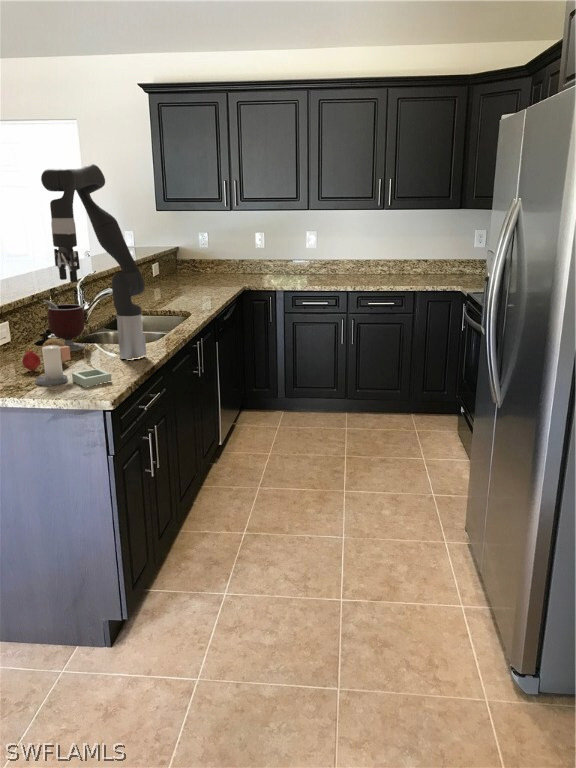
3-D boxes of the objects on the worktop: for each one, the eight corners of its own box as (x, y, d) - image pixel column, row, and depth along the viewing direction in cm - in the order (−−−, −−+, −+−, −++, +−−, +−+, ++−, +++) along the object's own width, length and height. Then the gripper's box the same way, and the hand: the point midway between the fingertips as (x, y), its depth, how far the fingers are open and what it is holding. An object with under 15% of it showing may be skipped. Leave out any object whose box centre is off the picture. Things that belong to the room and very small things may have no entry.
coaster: (60, 375, 207) (60, 372, 206) (72, 382, 200) (72, 378, 199) (31, 381, 200) (30, 377, 200) (42, 387, 193) (42, 384, 193)
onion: (23, 374, 208) (21, 351, 206) (23, 369, 213) (21, 348, 211) (41, 372, 210) (39, 350, 208) (41, 368, 215) (38, 346, 213)
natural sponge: (42, 362, 223) (39, 336, 220) (67, 360, 227) (64, 334, 224) (43, 368, 215) (40, 341, 212) (69, 366, 219) (66, 339, 216)
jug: (49, 381, 196) (46, 350, 193) (42, 377, 200) (39, 347, 197) (74, 376, 202) (71, 346, 199) (67, 372, 206) (64, 343, 203)
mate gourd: (91, 344, 252) (87, 297, 247) (80, 352, 239) (76, 302, 233) (54, 343, 252) (49, 296, 246) (42, 351, 239) (36, 302, 233)
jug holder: (98, 376, 207) (98, 368, 206) (111, 382, 200) (110, 373, 199) (72, 381, 200) (71, 372, 199) (85, 387, 194) (84, 378, 193)
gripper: (44, 231, 201) (49, 279, 206) (61, 233, 191) (66, 284, 196) (66, 231, 206) (70, 278, 211) (84, 232, 196) (88, 282, 201)
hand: (68, 280), depth 203 cm, fingers open, 8 cm apart
